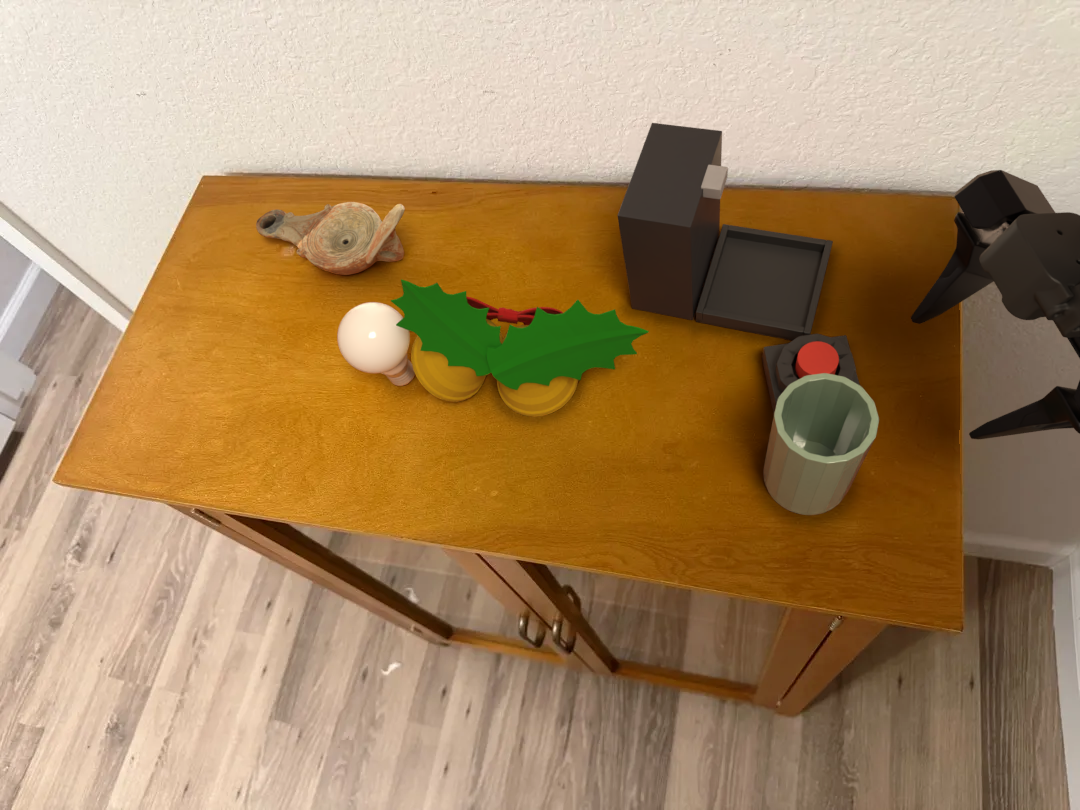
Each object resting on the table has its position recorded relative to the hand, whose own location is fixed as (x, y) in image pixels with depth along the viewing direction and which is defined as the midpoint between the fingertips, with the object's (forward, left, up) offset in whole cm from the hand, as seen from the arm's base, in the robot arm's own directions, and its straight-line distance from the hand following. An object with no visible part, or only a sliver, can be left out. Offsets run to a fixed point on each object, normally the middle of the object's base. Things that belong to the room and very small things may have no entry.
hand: (942, 376), depth 52 cm
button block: (+6, -6, -13) cm, 15 cm away
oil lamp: (+50, -30, -13) cm, 60 cm away
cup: (+8, +2, -13) cm, 15 cm away
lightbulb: (+43, -14, -13) cm, 47 cm away
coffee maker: (+11, -19, -13) cm, 25 cm away
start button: (+6, -6, -9) cm, 13 cm away
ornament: (+30, -11, -13) cm, 34 cm away
